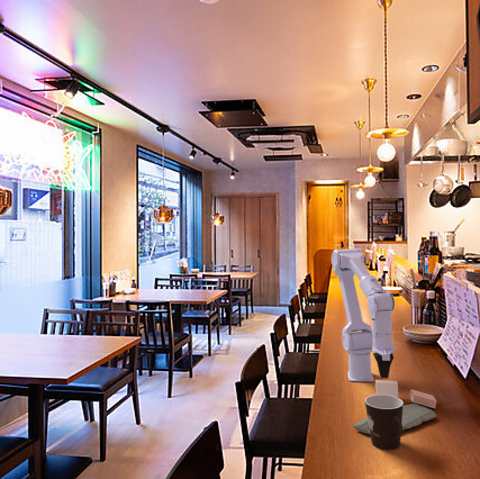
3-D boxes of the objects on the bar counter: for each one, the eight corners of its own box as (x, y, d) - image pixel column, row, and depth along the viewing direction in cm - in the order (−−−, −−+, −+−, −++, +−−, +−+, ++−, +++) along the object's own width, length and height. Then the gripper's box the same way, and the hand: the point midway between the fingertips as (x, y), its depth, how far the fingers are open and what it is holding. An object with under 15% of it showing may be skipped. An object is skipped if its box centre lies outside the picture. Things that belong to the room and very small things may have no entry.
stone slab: (439, 422, 116) (407, 406, 124) (440, 412, 116) (407, 396, 124) (380, 447, 104) (349, 427, 113) (381, 436, 104) (350, 417, 113)
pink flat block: (410, 389, 128) (414, 394, 122) (432, 395, 127) (436, 401, 121) (409, 395, 128) (412, 401, 122) (431, 402, 127) (435, 408, 121)
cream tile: (376, 400, 131) (375, 379, 130) (397, 400, 129) (396, 380, 129) (376, 402, 129) (376, 382, 128) (398, 403, 127) (397, 382, 127)
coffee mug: (366, 433, 110) (365, 393, 110) (403, 436, 108) (402, 395, 107) (366, 457, 99) (364, 412, 99) (407, 461, 96) (405, 415, 96)
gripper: (400, 338, 126) (402, 386, 126) (392, 327, 140) (394, 369, 140) (374, 338, 127) (376, 385, 127) (369, 327, 141) (371, 369, 141)
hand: (384, 377), depth 134 cm, fingers closed
